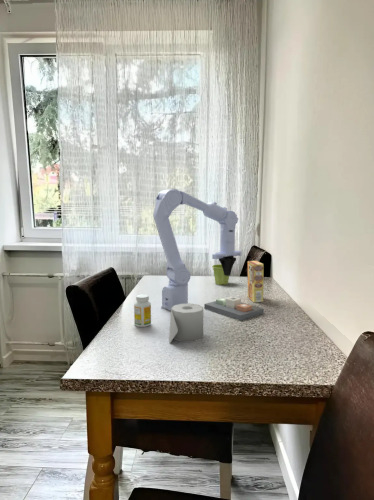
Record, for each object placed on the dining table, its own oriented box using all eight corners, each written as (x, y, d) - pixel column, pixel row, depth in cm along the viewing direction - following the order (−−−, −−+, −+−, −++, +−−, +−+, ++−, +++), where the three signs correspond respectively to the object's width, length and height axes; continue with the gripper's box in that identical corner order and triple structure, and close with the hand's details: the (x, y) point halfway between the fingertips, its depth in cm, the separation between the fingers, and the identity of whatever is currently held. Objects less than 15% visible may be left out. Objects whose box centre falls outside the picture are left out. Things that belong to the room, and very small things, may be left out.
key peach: (244, 316, 125) (244, 307, 125) (236, 313, 128) (236, 305, 128) (251, 314, 127) (251, 305, 127) (243, 311, 130) (243, 303, 130)
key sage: (223, 309, 133) (223, 301, 133) (215, 307, 136) (215, 299, 135) (230, 307, 135) (230, 299, 135) (223, 305, 138) (223, 297, 138)
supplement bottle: (134, 327, 115) (133, 298, 114) (134, 322, 120) (134, 294, 119) (151, 327, 115) (150, 297, 114) (151, 321, 121) (150, 293, 119)
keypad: (240, 320, 121) (240, 315, 121) (204, 308, 135) (204, 303, 135) (263, 313, 129) (263, 308, 128) (227, 302, 142) (227, 298, 142)
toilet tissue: (164, 345, 101) (164, 315, 99) (176, 329, 113) (176, 302, 112) (196, 348, 99) (196, 317, 97) (205, 331, 111) (205, 304, 110)
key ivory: (233, 308, 129) (233, 300, 128) (225, 306, 132) (225, 298, 131) (240, 306, 131) (240, 298, 131) (233, 304, 134) (233, 296, 134)
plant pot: (234, 282, 177) (234, 265, 176) (226, 286, 169) (226, 268, 168) (217, 280, 182) (217, 263, 181) (208, 284, 174) (208, 266, 173)
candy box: (263, 302, 143) (264, 264, 141) (253, 302, 142) (254, 264, 140) (256, 296, 151) (257, 260, 149) (246, 296, 151) (247, 260, 149)
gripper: (221, 243, 134) (221, 279, 136) (247, 240, 143) (247, 274, 145) (208, 242, 140) (208, 276, 142) (234, 239, 149) (234, 271, 151)
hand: (227, 275), depth 144 cm, fingers closed
